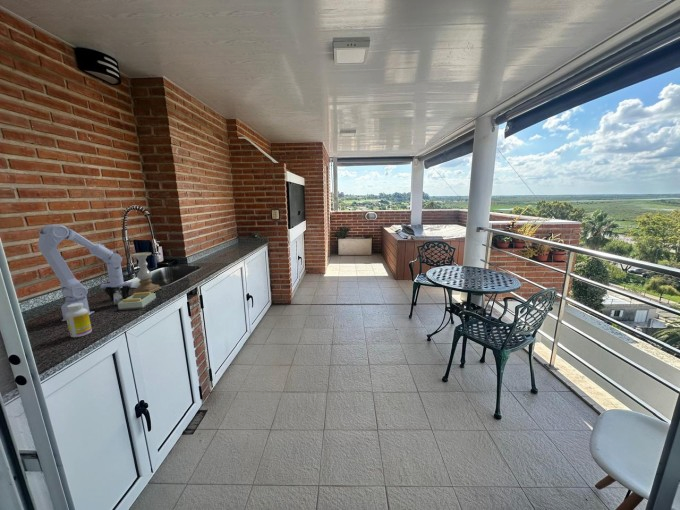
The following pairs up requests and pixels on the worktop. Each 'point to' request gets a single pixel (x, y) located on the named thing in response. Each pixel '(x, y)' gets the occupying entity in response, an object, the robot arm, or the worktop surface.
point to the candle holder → (144, 275)
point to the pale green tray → (137, 301)
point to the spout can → (117, 296)
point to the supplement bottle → (78, 320)
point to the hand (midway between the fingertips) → (120, 300)
